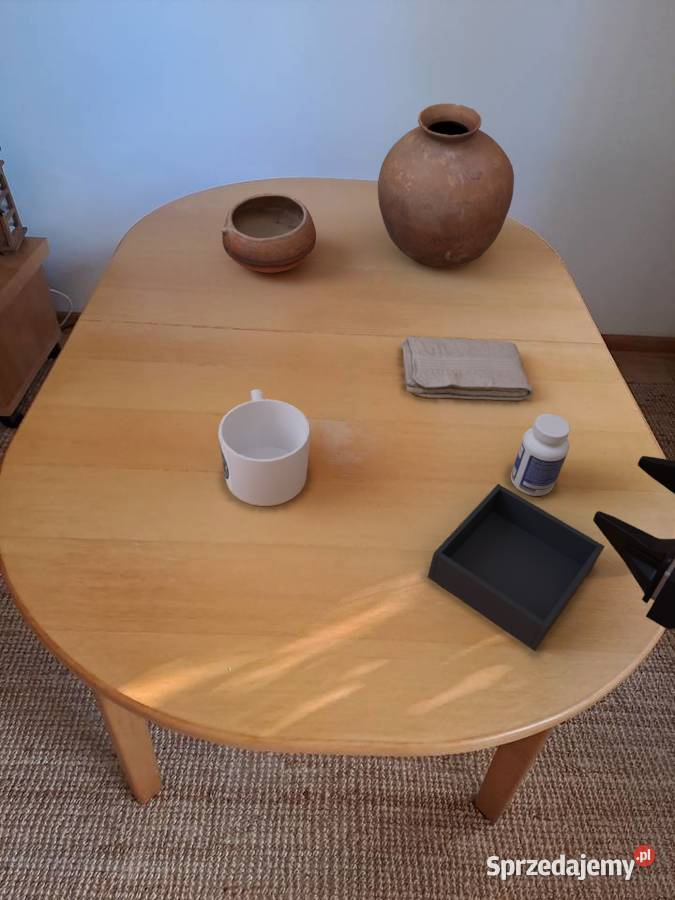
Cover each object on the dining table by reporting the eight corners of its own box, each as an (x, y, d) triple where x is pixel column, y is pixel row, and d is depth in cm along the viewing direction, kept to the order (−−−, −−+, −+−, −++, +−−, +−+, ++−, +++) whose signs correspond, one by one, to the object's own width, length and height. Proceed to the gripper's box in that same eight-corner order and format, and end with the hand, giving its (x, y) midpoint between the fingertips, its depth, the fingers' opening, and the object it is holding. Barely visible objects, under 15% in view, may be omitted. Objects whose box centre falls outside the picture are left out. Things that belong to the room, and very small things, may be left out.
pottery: (475, 223, 132) (504, 85, 114) (512, 287, 116) (552, 138, 98) (361, 225, 129) (373, 84, 112) (383, 290, 113) (401, 138, 96)
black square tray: (591, 570, 75) (604, 545, 72) (534, 651, 67) (547, 628, 64) (489, 508, 81) (498, 483, 77) (427, 577, 73) (433, 552, 70)
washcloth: (398, 348, 102) (400, 331, 100) (514, 351, 103) (519, 335, 101) (405, 399, 94) (407, 382, 92) (531, 403, 95) (537, 386, 92)
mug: (316, 503, 80) (318, 455, 74) (227, 515, 78) (222, 467, 72) (297, 426, 89) (297, 379, 83) (217, 435, 87) (211, 387, 81)
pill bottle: (562, 487, 83) (586, 431, 77) (530, 503, 81) (552, 447, 74) (532, 460, 87) (553, 403, 80) (501, 474, 84) (519, 418, 78)
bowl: (208, 272, 115) (203, 217, 108) (251, 233, 125) (249, 180, 118) (291, 295, 111) (291, 239, 104) (328, 253, 121) (331, 199, 114)
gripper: (889, 448, 52) (690, 368, 60) (826, 598, 42) (595, 479, 50) (818, 539, 60) (649, 457, 67) (750, 685, 50) (559, 570, 57)
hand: (618, 486), depth 60 cm, fingers open, 9 cm apart
